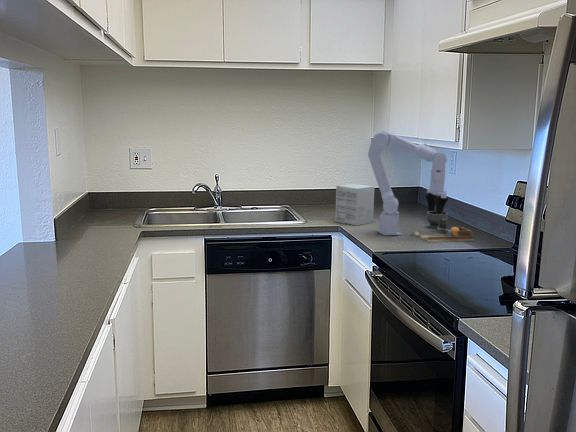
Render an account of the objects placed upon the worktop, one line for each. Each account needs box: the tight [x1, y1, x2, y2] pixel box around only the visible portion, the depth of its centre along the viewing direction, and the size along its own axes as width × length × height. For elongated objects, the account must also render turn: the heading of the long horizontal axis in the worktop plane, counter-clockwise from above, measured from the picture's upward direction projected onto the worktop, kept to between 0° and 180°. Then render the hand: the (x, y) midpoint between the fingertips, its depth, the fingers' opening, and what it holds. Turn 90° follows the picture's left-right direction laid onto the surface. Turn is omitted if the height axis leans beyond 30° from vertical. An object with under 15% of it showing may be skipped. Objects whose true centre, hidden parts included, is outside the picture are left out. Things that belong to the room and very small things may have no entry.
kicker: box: [436, 218, 452, 236], centre depth 244 cm, size 9×3×6 cm, turn 10°
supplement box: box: [334, 183, 375, 226], centre depth 274 cm, size 13×13×18 cm
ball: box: [449, 226, 460, 236], centre depth 242 cm, size 4×4×4 cm
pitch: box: [412, 226, 475, 243], centre depth 244 cm, size 16×20×4 cm
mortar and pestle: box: [426, 205, 449, 230], centre depth 265 cm, size 11×9×12 cm
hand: (435, 212), depth 245 cm, fingers open, 7 cm apart
